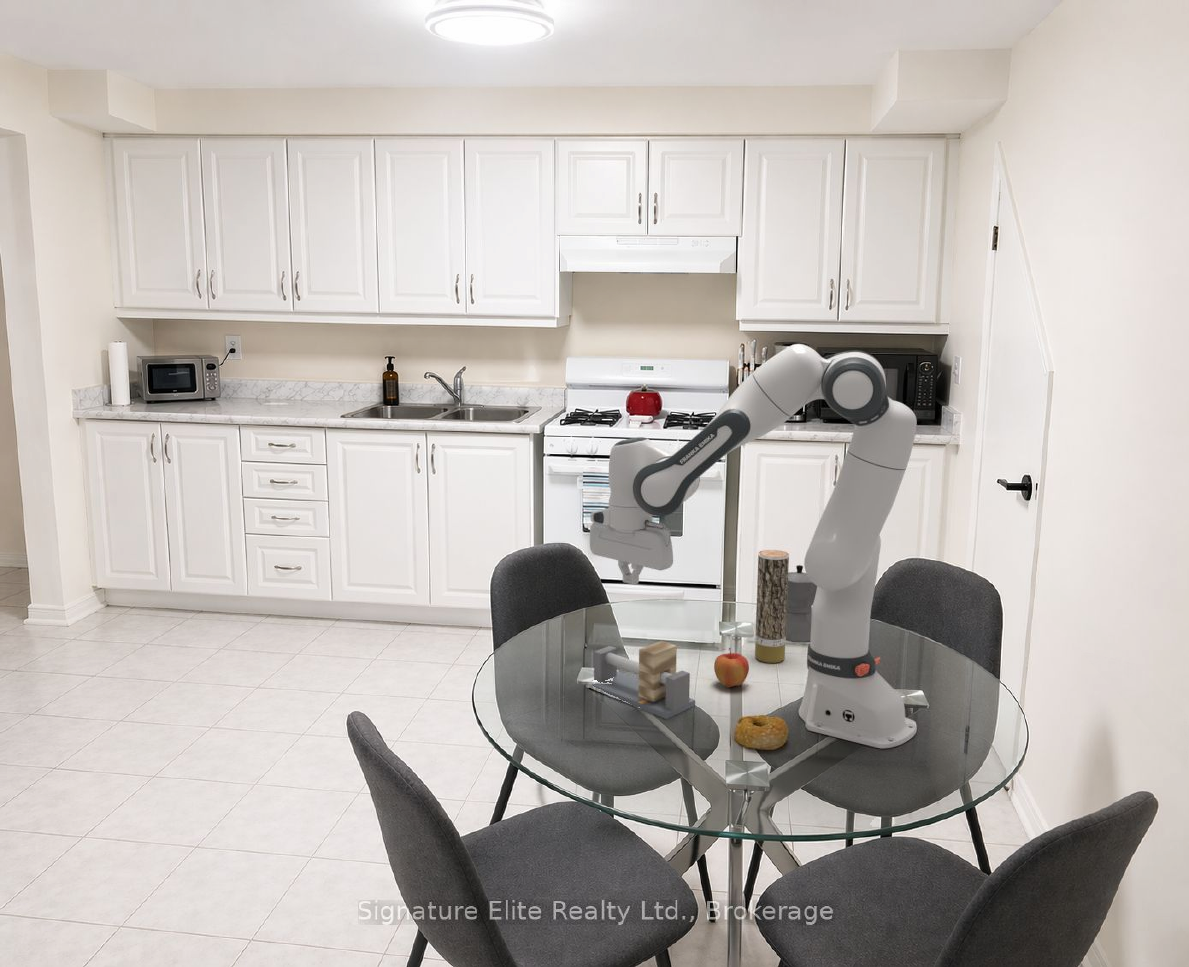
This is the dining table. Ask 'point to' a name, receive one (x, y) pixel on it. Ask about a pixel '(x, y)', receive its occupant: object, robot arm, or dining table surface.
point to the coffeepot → (799, 606)
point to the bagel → (761, 732)
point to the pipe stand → (629, 686)
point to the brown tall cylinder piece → (771, 605)
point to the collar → (655, 669)
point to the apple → (731, 669)
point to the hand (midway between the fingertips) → (630, 582)
